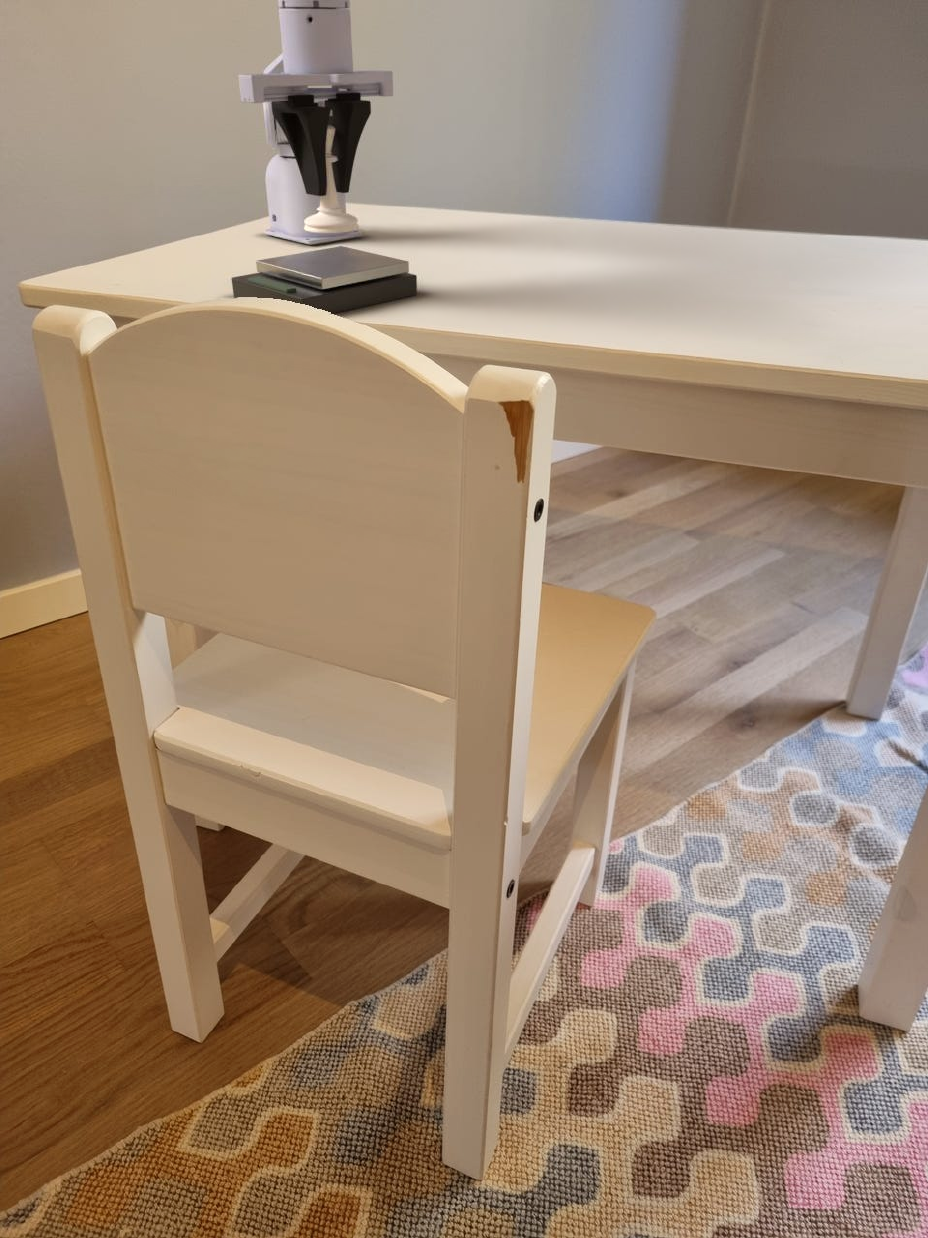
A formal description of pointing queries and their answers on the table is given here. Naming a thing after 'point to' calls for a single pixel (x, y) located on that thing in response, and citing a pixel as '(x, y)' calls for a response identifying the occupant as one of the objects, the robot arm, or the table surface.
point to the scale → (326, 291)
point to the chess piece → (330, 199)
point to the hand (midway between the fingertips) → (327, 193)
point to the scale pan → (332, 267)
